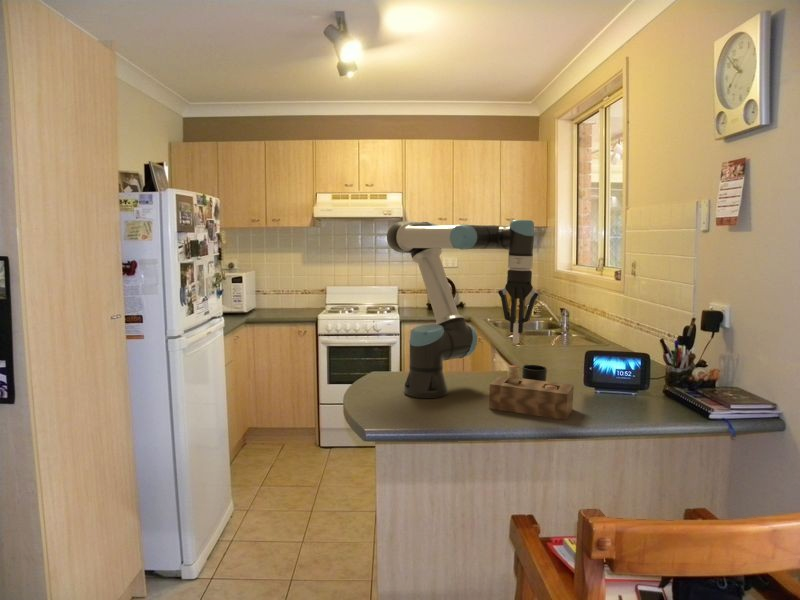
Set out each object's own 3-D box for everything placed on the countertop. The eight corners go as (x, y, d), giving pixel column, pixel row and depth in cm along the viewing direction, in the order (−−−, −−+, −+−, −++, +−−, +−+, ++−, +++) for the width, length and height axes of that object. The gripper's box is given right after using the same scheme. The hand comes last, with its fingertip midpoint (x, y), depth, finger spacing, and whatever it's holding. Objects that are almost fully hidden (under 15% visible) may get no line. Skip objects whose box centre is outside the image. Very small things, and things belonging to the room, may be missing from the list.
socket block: (489, 408, 179) (489, 384, 178) (499, 398, 190) (500, 375, 189) (566, 420, 169) (567, 394, 168) (572, 409, 180) (573, 384, 179)
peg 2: (542, 410, 176) (544, 387, 175) (545, 407, 179) (546, 384, 178) (554, 412, 174) (555, 388, 173) (556, 409, 178) (557, 386, 177)
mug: (536, 387, 204) (537, 362, 203) (549, 397, 193) (550, 370, 192) (514, 388, 203) (515, 362, 202) (526, 397, 192) (527, 370, 190)
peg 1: (505, 390, 180) (506, 367, 180) (508, 387, 184) (509, 365, 183) (517, 391, 179) (517, 368, 178) (519, 388, 182) (520, 366, 181)
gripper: (496, 268, 176) (492, 342, 179) (538, 271, 170) (533, 347, 173) (502, 267, 183) (499, 338, 186) (543, 269, 177) (538, 343, 180)
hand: (515, 342), depth 180 cm, fingers closed
